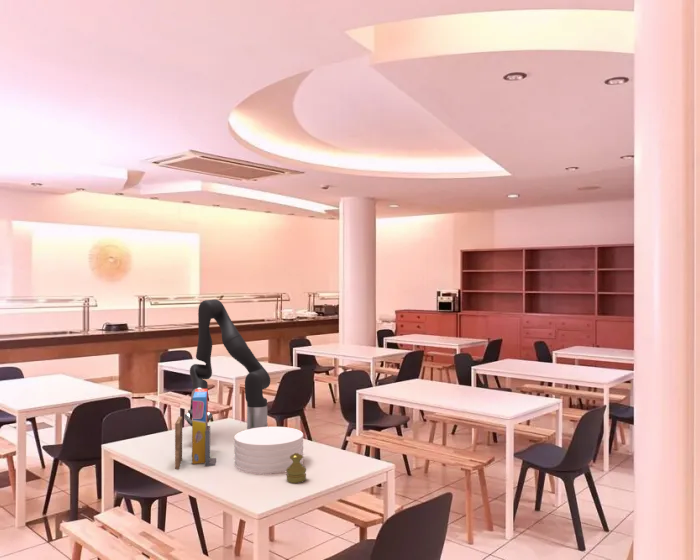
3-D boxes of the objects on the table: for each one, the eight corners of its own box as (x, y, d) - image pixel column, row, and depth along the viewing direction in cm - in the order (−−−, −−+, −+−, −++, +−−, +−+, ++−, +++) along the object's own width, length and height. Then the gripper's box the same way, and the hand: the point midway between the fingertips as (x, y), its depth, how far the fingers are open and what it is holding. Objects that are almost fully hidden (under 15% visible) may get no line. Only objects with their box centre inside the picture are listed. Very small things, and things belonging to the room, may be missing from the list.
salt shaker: (289, 484, 203) (289, 457, 203) (283, 478, 210) (283, 451, 210) (308, 482, 206) (308, 454, 206) (302, 475, 213) (302, 449, 213)
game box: (205, 463, 228) (205, 397, 228) (191, 464, 226) (192, 397, 227) (207, 449, 248) (207, 388, 248) (195, 449, 247) (195, 388, 247)
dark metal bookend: (216, 459, 234) (216, 425, 234) (215, 465, 225) (215, 430, 225) (206, 459, 233) (206, 426, 233) (205, 466, 224) (205, 431, 225)
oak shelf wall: (182, 459, 233) (182, 416, 233) (179, 468, 221) (179, 423, 221) (178, 459, 233) (178, 416, 233) (175, 469, 221) (175, 423, 221)
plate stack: (230, 456, 237) (230, 429, 238) (294, 450, 247) (294, 424, 247) (239, 478, 211) (239, 447, 211) (310, 469, 220) (310, 440, 220)
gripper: (184, 396, 257) (181, 429, 245) (213, 395, 259) (212, 428, 247) (185, 405, 262) (182, 438, 250) (213, 404, 264) (212, 436, 252)
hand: (197, 433), depth 248 cm, fingers closed
